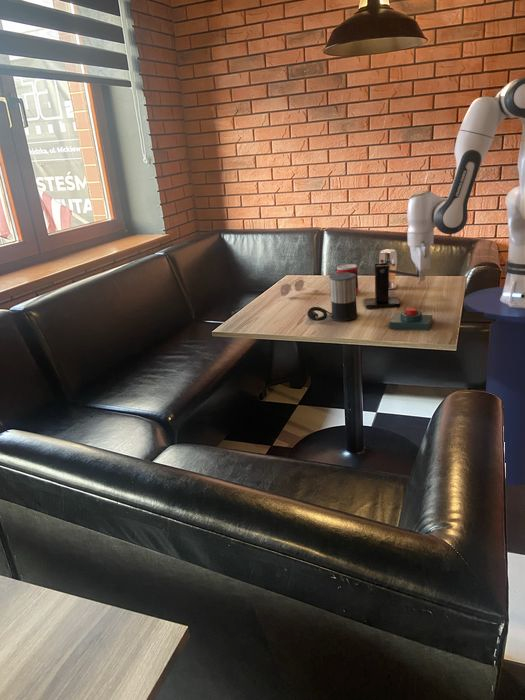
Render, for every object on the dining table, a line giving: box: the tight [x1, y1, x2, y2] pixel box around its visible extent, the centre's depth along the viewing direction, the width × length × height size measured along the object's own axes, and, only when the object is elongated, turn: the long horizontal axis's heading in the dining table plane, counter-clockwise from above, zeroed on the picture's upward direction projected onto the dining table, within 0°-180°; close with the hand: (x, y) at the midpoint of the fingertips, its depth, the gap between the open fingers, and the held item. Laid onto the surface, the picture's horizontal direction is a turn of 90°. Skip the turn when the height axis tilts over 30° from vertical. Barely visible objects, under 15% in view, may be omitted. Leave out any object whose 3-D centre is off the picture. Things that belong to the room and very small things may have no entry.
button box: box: [389, 310, 434, 331], centre depth 172 cm, size 12×9×4 cm
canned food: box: [336, 263, 359, 295], centre depth 214 cm, size 8×8×11 cm
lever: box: [378, 265, 419, 278], centre depth 193 cm, size 16×5×2 cm, turn 84°
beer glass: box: [378, 248, 398, 290], centre depth 215 cm, size 7×7×15 cm
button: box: [405, 307, 418, 315], centre depth 171 cm, size 4×4×2 cm
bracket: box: [364, 262, 401, 309], centre depth 195 cm, size 12×9×15 cm
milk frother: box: [306, 273, 359, 322], centre depth 185 cm, size 14×16×15 cm
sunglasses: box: [279, 279, 318, 300], centre depth 219 cm, size 14×8×5 cm, turn 128°
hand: (420, 278), depth 192 cm, fingers closed on lever, 5 cm apart
